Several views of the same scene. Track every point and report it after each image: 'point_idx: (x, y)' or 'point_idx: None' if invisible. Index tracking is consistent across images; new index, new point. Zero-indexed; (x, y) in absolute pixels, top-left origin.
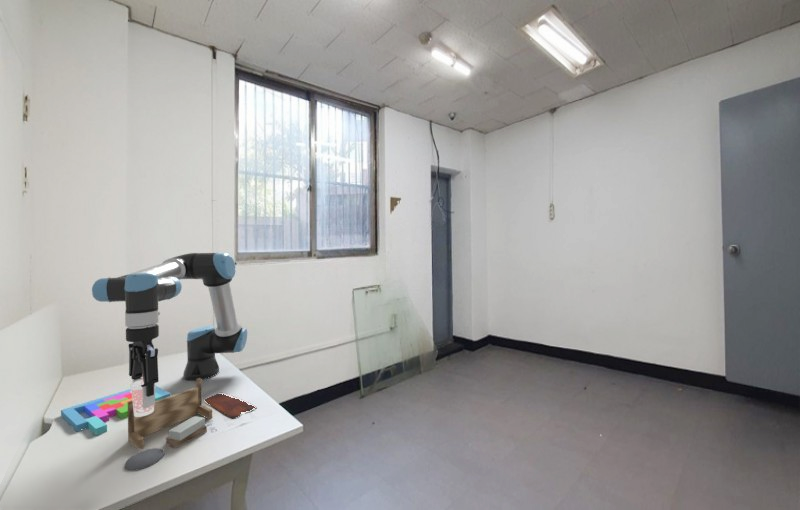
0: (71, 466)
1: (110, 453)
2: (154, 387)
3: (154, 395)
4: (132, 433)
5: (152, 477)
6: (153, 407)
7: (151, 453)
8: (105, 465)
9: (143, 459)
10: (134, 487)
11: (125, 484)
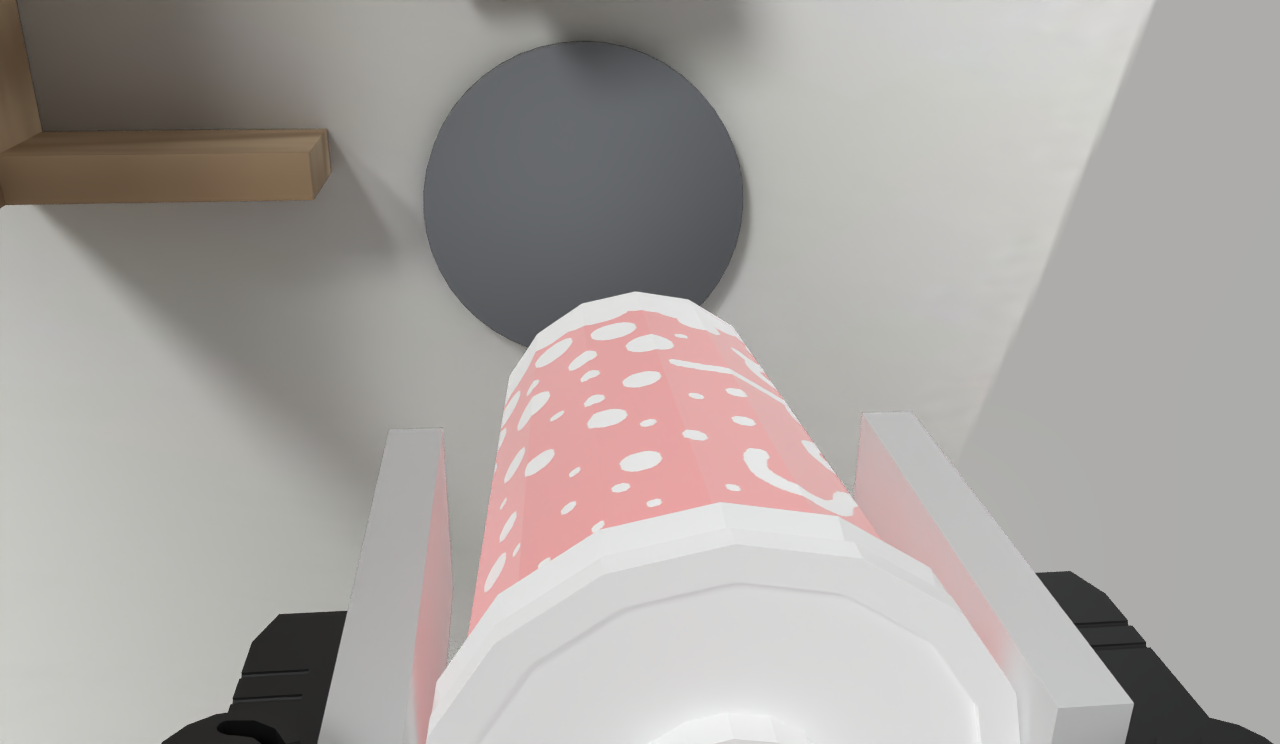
0: (121, 588)
1: (149, 353)
2: (1072, 622)
3: (978, 508)
4: (40, 186)
5: (930, 262)
6: (746, 348)
7: (560, 143)
8: (359, 430)
9: (605, 228)
10: (924, 384)
11: (818, 411)
